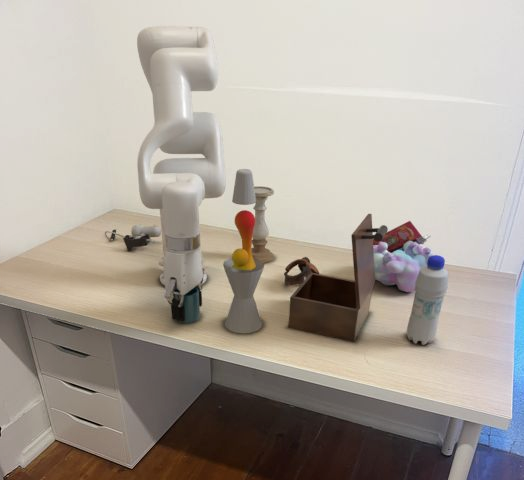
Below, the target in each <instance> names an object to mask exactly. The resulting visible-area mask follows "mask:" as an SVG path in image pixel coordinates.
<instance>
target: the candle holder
mask: <svg viewBox="0 0 524 480" xmlns="http://www.w3.org/2000/svg"><path fill="white" fill-rule="evenodd" d="M254 190H255V197H256V203H254V205H253V208H252V209H253V210H254V217H255V225H254V229H253V234H252V246H253V247H251V248H252V256H253V258H256V259H259V260H261V261H262V262H263V263H264V264H266V263H270V262H272V261H273V260H274V257H275V256H274V255H275V254H274V253H273V252H272V251H271V250H270V249H269V248H267V247H266V246H267V244H268V240H267V238H268V237H269V235H270V232H269V227H268V225H267V222H266V216H265V215H266V213H265V212H266V210H267V209H268V208H267V205H266V201H267V200H268V198H269V197H271V196H273V195H274V193H275V191H274V189H273V188H271V187H269V186H259V185H257V186H254Z"/></svg>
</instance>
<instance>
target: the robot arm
mask: <svg viewBox="0 0 524 480" xmlns="http://www.w3.org/2000/svg"><path fill="white" fill-rule="evenodd" d="M136 46H137V53H138V58H139V62H140V66H141V69H142V71H143V74H144V76H145V79H146V81H147V83H148V85H149V88H150V91H151V96H152V106H153V107H152V109H153V117H154V118H153V119H154V123H153V126H152V128H151V130H150V131H149V132H148V133H147V134H146V135H145V138H144V139H143V141H142V143H141V145H140V147H139V151H138V155H137V165H136V166H137V176H138V177H137V180H138V192H139V197H140V201H141V204H142V205H144V207H146V208H147V209H150V210H159V216H160V226H161V227H160V229H161V238H162V239H161V241H162V253H163V256H162V260H159V261H158V265H159V266H161V267H162V269H163V270H162V272H161V273H160V275H159V281H160V283H161V284H162V285H163V286H164V290H165V292H164V299H165V300H166V301H167V303H168V304H169V306H170V311H171V319H172V320H174V321H177V320H178V321H177V322H179V321H182V322H184V321H185V309H184V305H182V304H183V299H184V295H185V294H186V293H188V292H189V291H190V290H192V289H193V288H194V287H197V288H198V289H199V304H200V308H201V307H202V306H203V298H202V297H203V296H202V295H203V293H202V290H203V284H204V283H205V282H206V281H207V278H208V277H207V273H206V272H205V271H206V270H205V268H204V267H203V257H202V256H203V255H202V251H201V250H202V249H201V230H200V229H201V227H200V206H201V204H202V202H203V201H204V200H205V199H217V198H220V197H222V196H223V195H224V193H225V191H226V183H227V182H226V179H227V178H226V164H225V154H224V153H225V151H224V139H223V129H222V125H221V122H220V120H219V117H218V116H217V115H216V114H215V113H212V112H207V111H193V109H194V108H193V97H192V92H212V91H214V90H215V89H216V87H217V85H218V80H219V66H218V57H217V51H216V48H215V43H214V37H213V35H212V33H211V31H210V30H209V29H208V28H206V27H204V26H203V27H202V26H176V25H175V26H174V25H153V26H147V27H145V28H143V29H141V30H140V31H139V32H138V34H137V37H136ZM158 149H159V150H160V151H161V152H162V153H165V154H168V155H202V156H203V157H171V158H170V157H169V158H165V159H162V160H159V161H158V162H157V163H156V164H155V165H154V167H153V171H152V172H151V162H152V157H153V155H154V153H155V152H156V151H157V150H158ZM176 289H178V290H179V291H180V292H176ZM175 295H180V296H179V301H178V300H177V299H176V298H175ZM182 322H181V323H182Z"/></svg>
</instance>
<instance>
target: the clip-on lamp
mask: <svg viewBox="0 0 524 480" xmlns="http://www.w3.org/2000/svg"><path fill="white" fill-rule="evenodd" d="M107 233H110V234H111V235H110V237H109V236H108V235H107ZM104 236H105V237H106V239H108V241H113V240H115V237H116V236H119V237H121V238H123V242H124V245H125V247H126V249H127V251H128V252H130V251H132V250H133V249H134V248H140V247H147V246H148V245H149V243H150V242H151V243H155V240H153V239H151V238H159V237H160V236H162V229H161V227H160V226H159V225H148V226H147V225H146V226H144V225H143V224H138V223H137V224H135V225H133V226H132V227H131V232H130V234H125V235H122V234H121V233H120V234H119V233H117V228H114V229H112V230H110V231H109V230H105V231H104Z"/></svg>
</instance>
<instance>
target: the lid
mask: <svg viewBox="0 0 524 480" xmlns="http://www.w3.org/2000/svg"><path fill="white" fill-rule="evenodd" d="M388 231H389V228H388V226H387V225H385V224H384V225H380V226H379V227H374V228H373V215H372V213H368V214H366V216H365V217H364V218H363V220H362V221H361V222H360V224H359V225H358V226H357V227H356V228H355V229H354V231H353V232H352V234H351V250H352V261H353V263H352V265H353V278H354V279H353V280H354V281H355V293H356V307H357V309H360V308H361V307H362V305H363V303H364V301H365V299H366V298H367V296H368V294H369V292H370V290H371V289H372V287H374V285H375V283H376V280H375V270H374V251H373V239H375V240H376V241H378V242H379V241H381V240H382V239H383V237H384V236H385V234H386V233H387V232H388ZM373 233H375V234H373ZM372 290H373V289H372Z"/></svg>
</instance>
